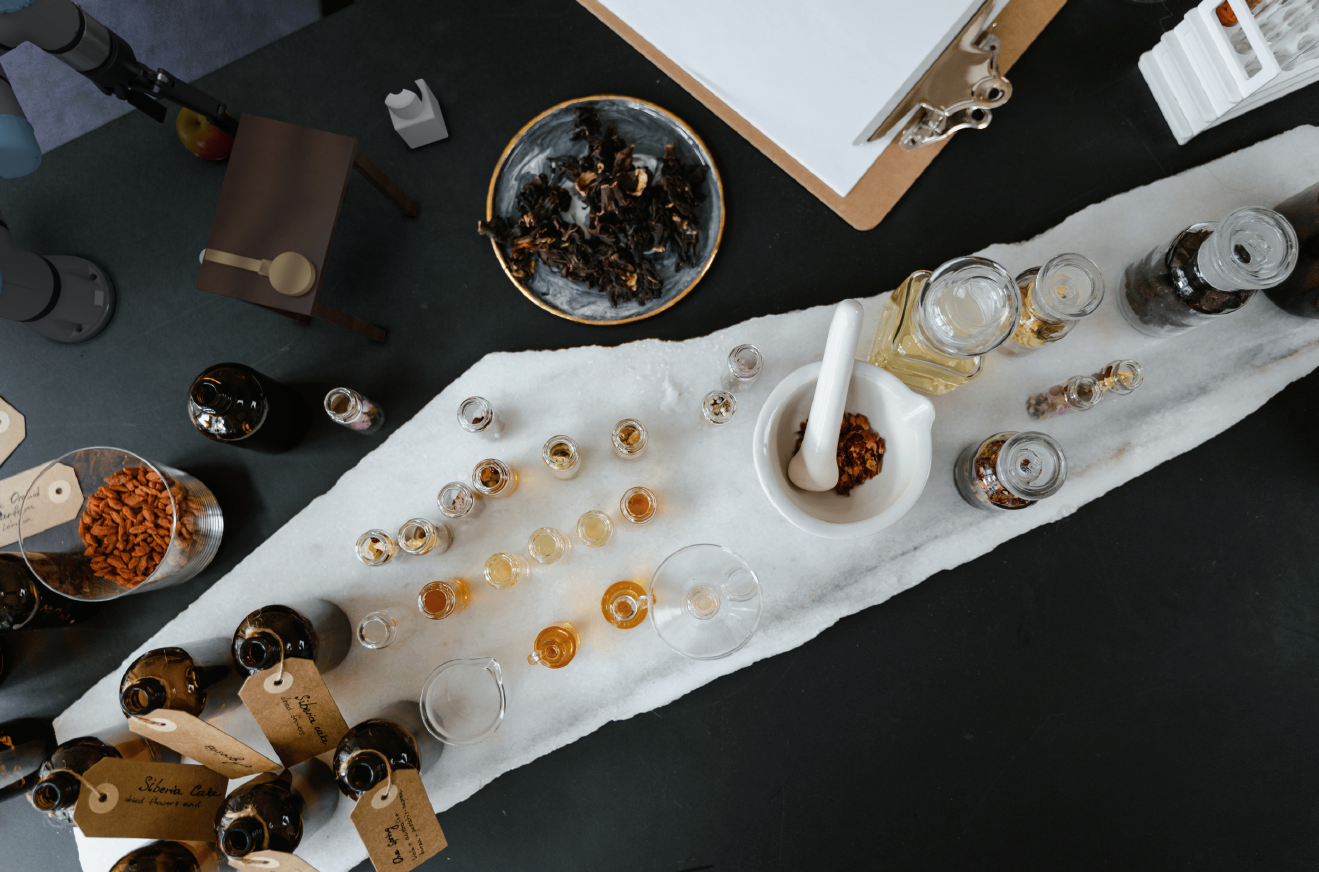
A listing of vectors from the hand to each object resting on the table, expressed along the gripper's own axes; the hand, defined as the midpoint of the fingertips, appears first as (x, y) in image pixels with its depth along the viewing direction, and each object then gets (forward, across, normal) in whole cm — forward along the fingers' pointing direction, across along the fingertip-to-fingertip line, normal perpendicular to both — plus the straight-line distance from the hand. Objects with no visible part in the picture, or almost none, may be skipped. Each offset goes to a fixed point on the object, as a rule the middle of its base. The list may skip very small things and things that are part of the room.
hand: (200, 123), depth 113 cm
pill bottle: (+6, -9, +22) cm, 25 cm away
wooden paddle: (-18, -29, +24) cm, 42 cm away
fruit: (+6, 0, 0) cm, 6 cm away
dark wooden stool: (+6, -29, +16) cm, 34 cm away
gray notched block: (+7, -35, -11) cm, 37 cm away
